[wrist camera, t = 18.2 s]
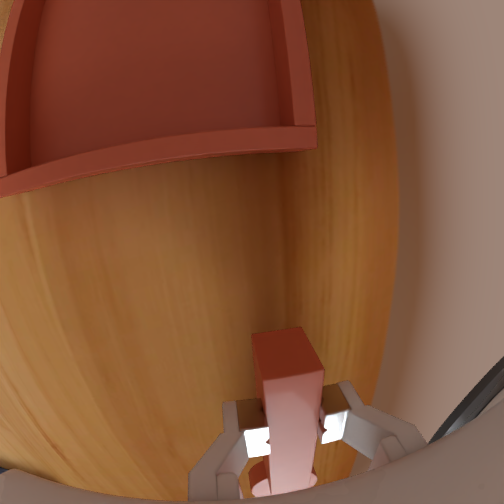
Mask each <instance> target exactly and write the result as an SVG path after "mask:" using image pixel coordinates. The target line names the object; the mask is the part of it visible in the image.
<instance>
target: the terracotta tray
mask: <svg viewBox="0 0 504 504" xmlns="http://www.w3.org/2000/svg"><path fill="white" fill-rule="evenodd" d="M315 126H316V114H315V104H314V94H313V84H312V76H311V67H310V59H309V52H308V45H307V38H306V31H305V25H304V19H303V13H302V7H301V1H300V0H14V2H13V5H12V8H11V11H10V15H9V18H8V22H7V26H6V30H5V34H4V39H3V43H2V48H1V53H0V198H2V197H7V196H11V195H15V194H20V193H24V192H29V191H32V190H36V189H40V188H43V187H47V186H51V185H55V184H59V183H63V182H67V181H71V180H76V179H80V178H84V177H89V176H94V175H98V174H103V173H108V172H114V171H119V170H124V169H130V168H136V167H142V166H148V165H155V164H161V163H168V162H176V161H183V160H192V159H200V158H210V157H220V156H231V155H244V154H258V153H277V152H298V151H304V150H311V149H316V148H317V147H318V142H317V129H316V127H315Z"/></svg>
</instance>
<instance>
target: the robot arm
mask: <svg viewBox="0 0 504 504" xmlns="http://www.w3.org/2000/svg"><path fill="white" fill-rule="evenodd" d="M222 409H223V425H224V433H222V434H220V435H219V436H218V437H217V439H216V440H215V441H214V442H213V444H212V445H211V446H210V448H209V449H208V450H207V451H206V453H205V454H204V455H203V456H202V458H201V459H200V460H199V461H198V463H197V464H196V465H195V466H194V467H193V469H192V470H191V471H190V472H189V476H188V501H164V500H149V499H139V498H130V497H123V496H116V495H110V494H104V493H99V492H94V491H89V490H84V489H80V488H76V487H72V486H68V485H64V484H61V483H57V482H54V481H50V480H47V479H44V478H41V477H38V476H35V475H32V474H29V473H27V472H24V471H21V470H19V469H10V470H8V471H6V472H4V473H2V474H0V504H504V389H503V390H501V391H500V392H499V393H498V394H497V395H496V396H495V397H494V398H493V399H492V400H491V402H490V403H489V404H488V405H487V406H486V407H485V408H484V409H483V410H482V411H481V413H480V414H479V415H478V416H477V417H476V418H475V419H473V420H472V421H470V422H469V423H467V424H465V425H464V426H462V427H460V428H459V429H457V430H455V431H454V432H452V433H450V434H448V435H447V436H445V437H443V438H441V439H439V440H437V441H435V442H434V443H432V444H430V445H428V444H427V442H426V441H425V439H424V438H423V436H422V435H421V434H420V433H419V431H418V429H417V428H416V427H415V426H414V425H413V424H411V423H408V422H406V421H403V420H401V419H399V418H396V417H394V416H392V415H389V414H387V413H385V412H383V411H380V410H378V409H376V408H374V407H371V406H369V405H366V406H365V405H364V404H363V402H362V400H361V399H360V397H359V396H358V394H357V392H356V391H355V389H354V387H353V386H352V384H351V383H350V381H348V380H347V381H343V382H339V383H336V384H331V385H327V386H323V392H322V401H321V404H320V411H319V417H320V419H319V422H318V429H317V434H318V436H319V439H320V441H321V444H323V443H328V442H332V441H336V440H340V439H342V440H343V441H344V442H346V443H347V444H349V445H350V446H352V447H353V448H355V449H356V450H358V451H359V452H361V453H362V454H364V455H365V456H367V457H368V458H370V459H372V462H371V464H370V467H369V469H368V471H366V472H364V473H360V474H357V475H355V476H351V477H348V478H345V479H341V480H338V481H335V482H331V483H327V484H323V485H320V486H315V487H311V488H307V489H302V490H298V491H293V492H287V493H282V494H276V495H269V496H262V497H255V498H246V499H244V498H243V494H242V491H241V487H240V484H239V480H238V477H239V476H240V474H241V472H242V470H243V468H244V467H245V465H246V463H247V461H248V459H249V457H256V456H262V455H268V454H270V443H269V427H268V423H267V418H266V414H265V413H264V412H263V404H262V400H261V398H256V399H247V400H237V401H227V402H223V404H222Z"/></svg>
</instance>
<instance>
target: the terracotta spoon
mask: <svg viewBox="0 0 504 504" xmlns="http://www.w3.org/2000/svg"><path fill="white" fill-rule="evenodd" d="M251 339H252V350H253V360H254V371H255V381H256V392H257V398H261V400H262V404H263V412H264V413H265V414H266V418H267V423H268V427H269V443H270V454H268V455H263V461H261V462H259V463H257V464H256V465H254V466H253V467H252V468H251V469H250V471H249V481H250V487H251V492H252V494H253V495H254V496H256V497H262V496H269V495H276V494H282V493H287V492H293V491H298V490H302V489H307V488H311V487H312V486H313V485H314V484H315V483H316V481H317V475H316V472H315V470H314V467H313V461H314V455H315V448H316V441H317V429H318V422H319V419H320V417H319V411H320V404H321V401H322V392H323V381H324V370H325V369H324V367H323V365H322V364H321V362H320V360H319V358H318V356H317V354H316V353H315V351H314V349H313V347H312V345H311V343H310V342H309V340H308V338H307V336H306V334H305V333H304V331H303V329H302V327H296V328H290V329H283V330H277V331H270V332H263V333H255V334H252V335H251Z"/></svg>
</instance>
